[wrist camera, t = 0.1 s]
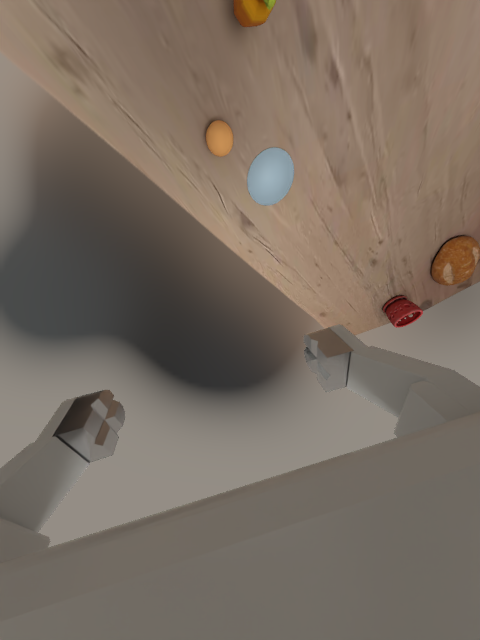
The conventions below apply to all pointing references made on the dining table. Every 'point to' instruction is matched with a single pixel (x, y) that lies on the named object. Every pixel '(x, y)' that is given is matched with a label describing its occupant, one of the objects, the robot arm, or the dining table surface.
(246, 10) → the carrot
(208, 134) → the ball
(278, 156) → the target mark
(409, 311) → the plant pot
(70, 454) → the robot arm
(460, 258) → the bread
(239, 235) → the dining table surface
